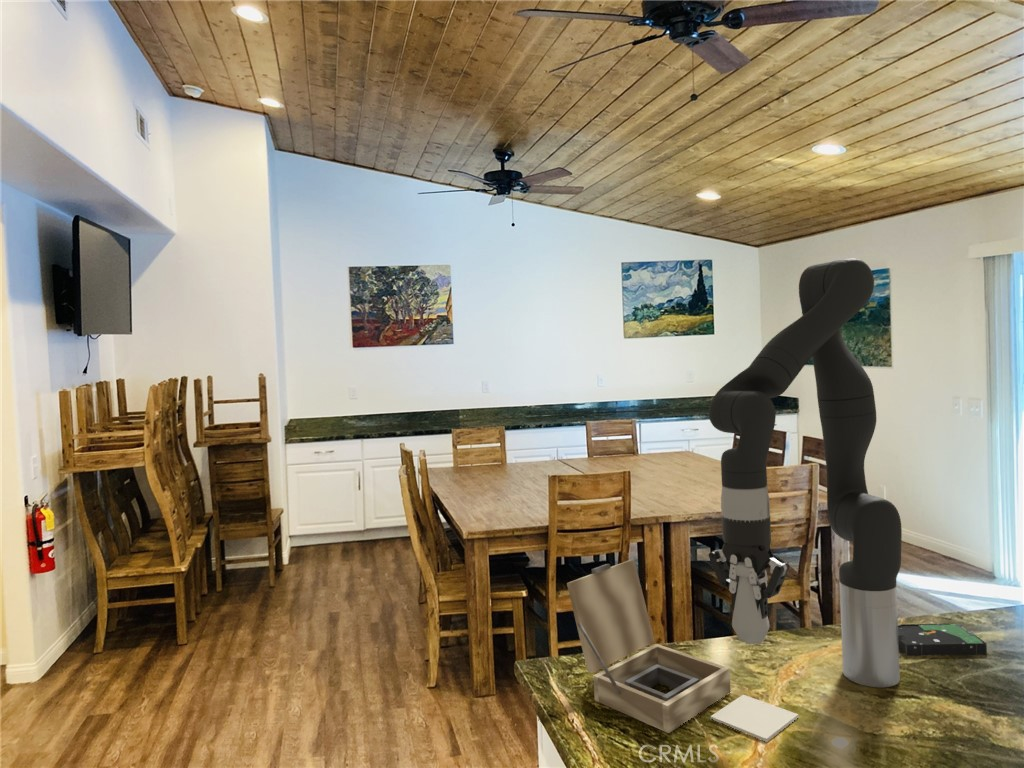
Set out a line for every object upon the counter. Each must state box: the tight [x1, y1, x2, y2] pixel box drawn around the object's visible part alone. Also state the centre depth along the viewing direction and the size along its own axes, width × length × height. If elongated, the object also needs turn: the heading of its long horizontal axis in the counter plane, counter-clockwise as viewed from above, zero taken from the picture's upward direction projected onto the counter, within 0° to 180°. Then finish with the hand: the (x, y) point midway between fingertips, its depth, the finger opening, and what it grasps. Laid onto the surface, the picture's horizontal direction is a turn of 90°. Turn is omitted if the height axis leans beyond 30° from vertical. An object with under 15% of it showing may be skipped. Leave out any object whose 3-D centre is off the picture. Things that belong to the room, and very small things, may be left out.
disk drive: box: [898, 623, 988, 657], centre depth 140 cm, size 10×3×15 cm
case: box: [576, 622, 732, 734], centre depth 126 cm, size 19×18×14 cm
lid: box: [566, 558, 656, 674], centre depth 133 cm, size 18×17×1 cm
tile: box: [710, 694, 799, 743], centre depth 117 cm, size 10×10×1 cm
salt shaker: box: [731, 562, 771, 645], centre depth 116 cm, size 6×6×13 cm
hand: (749, 616), depth 116 cm, fingers closed on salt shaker, 3 cm apart
